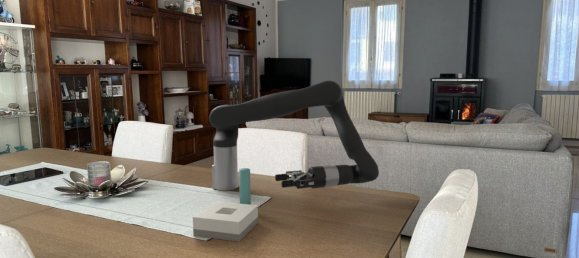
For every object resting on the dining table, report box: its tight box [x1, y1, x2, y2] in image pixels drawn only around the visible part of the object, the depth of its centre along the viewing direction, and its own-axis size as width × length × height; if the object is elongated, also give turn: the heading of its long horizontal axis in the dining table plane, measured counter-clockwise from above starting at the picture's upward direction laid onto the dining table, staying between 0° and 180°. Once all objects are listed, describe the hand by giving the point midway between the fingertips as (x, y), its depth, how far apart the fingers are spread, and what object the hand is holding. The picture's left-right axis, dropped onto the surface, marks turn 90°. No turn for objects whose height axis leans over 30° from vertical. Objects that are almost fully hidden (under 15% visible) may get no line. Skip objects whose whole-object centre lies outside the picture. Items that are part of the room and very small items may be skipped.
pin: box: [238, 167, 252, 205], centre depth 128 cm, size 4×4×14 cm
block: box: [192, 201, 259, 242], centre depth 113 cm, size 14×14×6 cm
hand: (278, 181), depth 131 cm, fingers open, 8 cm apart
